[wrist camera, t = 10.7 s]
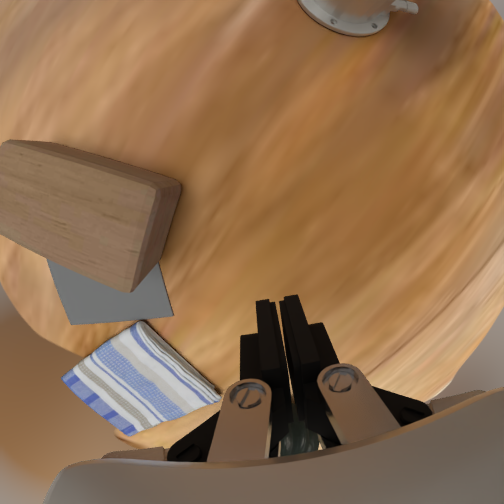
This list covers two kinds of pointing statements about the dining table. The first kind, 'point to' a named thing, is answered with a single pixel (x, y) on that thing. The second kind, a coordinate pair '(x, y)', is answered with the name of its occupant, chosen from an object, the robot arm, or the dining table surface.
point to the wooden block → (85, 210)
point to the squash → (298, 438)
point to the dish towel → (139, 381)
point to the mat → (109, 298)
